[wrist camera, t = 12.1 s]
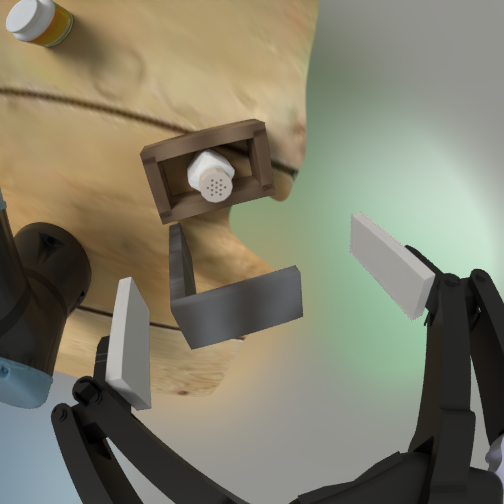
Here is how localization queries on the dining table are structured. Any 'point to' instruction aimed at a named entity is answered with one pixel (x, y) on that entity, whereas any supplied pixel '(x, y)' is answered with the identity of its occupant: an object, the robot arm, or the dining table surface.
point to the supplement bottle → (39, 22)
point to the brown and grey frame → (180, 262)
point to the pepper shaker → (211, 175)
